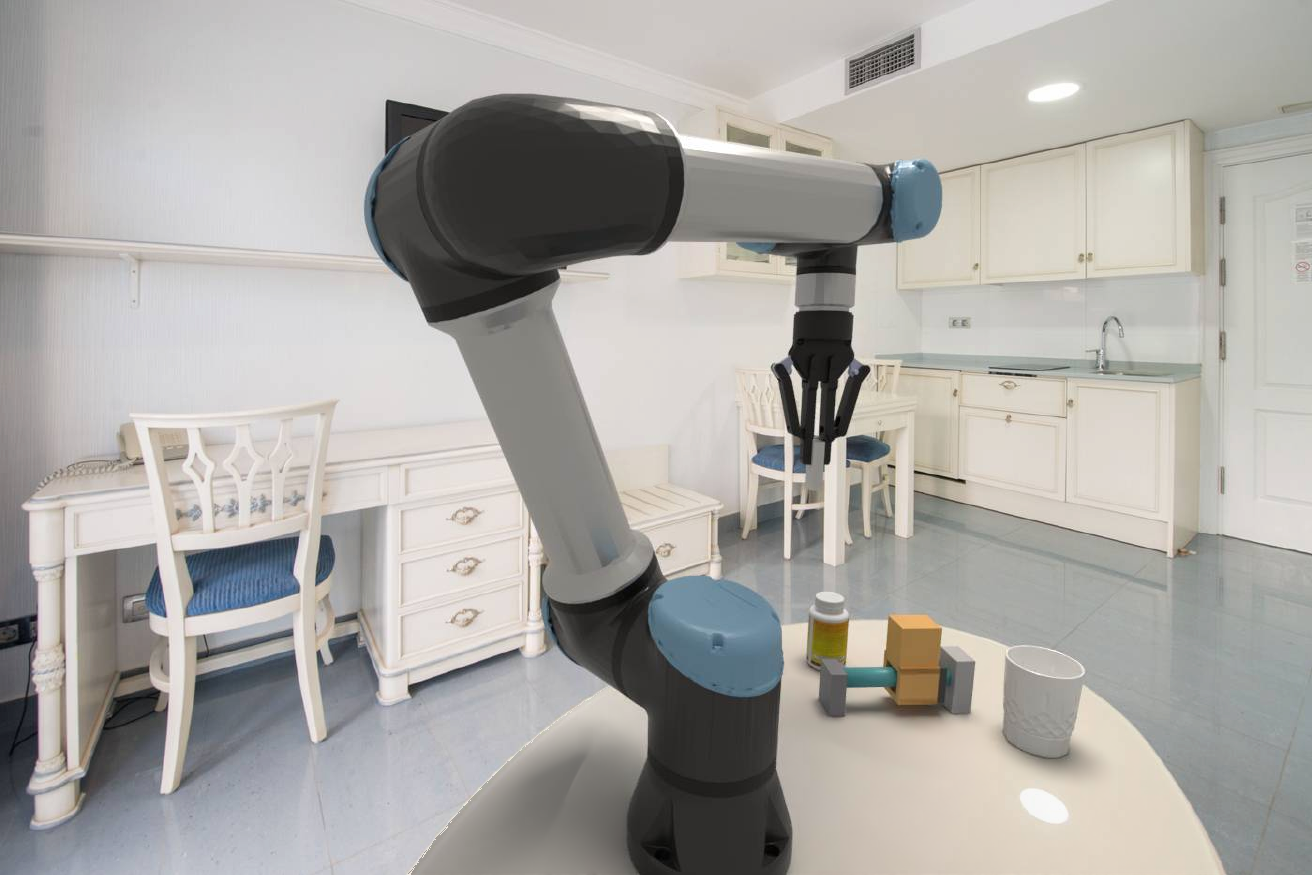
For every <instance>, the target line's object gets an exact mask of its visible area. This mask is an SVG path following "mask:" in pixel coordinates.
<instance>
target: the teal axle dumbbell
mask: <svg viewBox="0 0 1312 875" xmlns="http://www.w3.org/2000/svg"><path fill="white" fill-rule="evenodd" d="M939 667H940V676H939V687H938V698H937V704H942V705H943V706H944V707H945V708H946V709H947V710H948V712H949V713H951V715H956V714H957V715H958V714H960V715H962V714H963V715H966V714H971V710H972V701H973V700H972V699H973V690H974V678H975V671H976V670H975V669H976V661H975V660H974V659H973V658H972V657H971V656H970V655H969V654H968V653H967V652H965V650H963V649H962V648H961V647H960V646H959V645H955V646H954V645H952V646H949V645H947V646H945V645H944V646H943V645H942V646H940V656H939ZM819 672H820V673H819V686H818V701H819V702H820V704H821V706H822V707H823V708H824V710H825V712H826V713H827V715H828V718H829V717H846V715H845V714H846V703H847V702H846V701H847V689H852V688H854V689H859V688H860V689H861V688H884V687H896V685H897V672H898V671H897V670H896V669H895V668H894V667H883V666H867V667H866V666H865V667H864V666H861V667H860V666H859V667H856V666H854V667H852V666H851V667H844V668H842V666H841V665H840V663H839V662H838V661H837V659H821V669H820V670H819Z"/></svg>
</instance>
